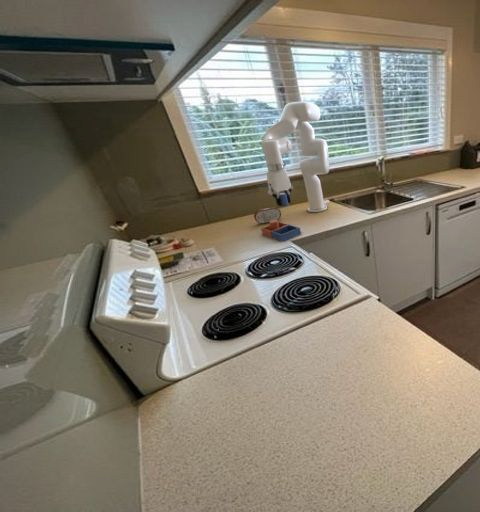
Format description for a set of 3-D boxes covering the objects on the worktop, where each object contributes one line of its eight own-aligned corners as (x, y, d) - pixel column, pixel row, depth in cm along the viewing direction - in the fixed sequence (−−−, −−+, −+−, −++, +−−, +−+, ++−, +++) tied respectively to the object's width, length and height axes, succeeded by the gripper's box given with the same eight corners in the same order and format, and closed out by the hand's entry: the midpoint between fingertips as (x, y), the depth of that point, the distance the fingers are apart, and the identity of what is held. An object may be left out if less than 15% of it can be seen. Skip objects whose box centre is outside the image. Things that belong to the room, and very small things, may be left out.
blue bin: (290, 230, 159) (289, 224, 158) (301, 233, 154) (299, 227, 153) (272, 237, 152) (270, 231, 150) (282, 241, 147) (281, 235, 145)
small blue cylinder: (285, 203, 153) (283, 192, 151) (290, 204, 151) (288, 193, 148) (278, 205, 150) (275, 194, 148) (283, 207, 148) (280, 195, 145)
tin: (281, 218, 180) (278, 204, 176) (283, 219, 177) (279, 206, 174) (256, 224, 173) (252, 210, 169) (257, 225, 171) (253, 211, 167)
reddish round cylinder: (277, 229, 161) (274, 219, 158) (282, 231, 158) (279, 220, 156) (270, 232, 158) (267, 221, 155) (275, 233, 155) (272, 223, 153)
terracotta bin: (280, 227, 165) (279, 221, 163) (290, 230, 160) (289, 224, 158) (262, 234, 157) (260, 228, 156) (272, 237, 152) (270, 231, 150)
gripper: (286, 164, 150) (293, 199, 158) (255, 170, 139) (265, 207, 147) (295, 164, 146) (302, 200, 154) (264, 171, 134) (273, 209, 142)
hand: (284, 203), depth 150 cm, fingers closed on small blue cylinder, 4 cm apart
